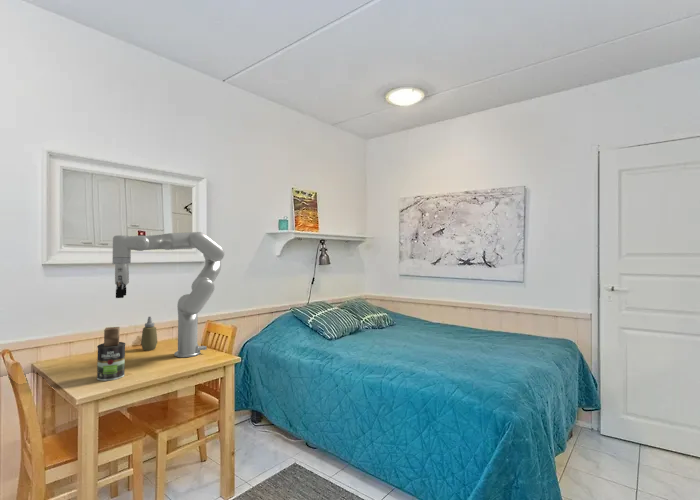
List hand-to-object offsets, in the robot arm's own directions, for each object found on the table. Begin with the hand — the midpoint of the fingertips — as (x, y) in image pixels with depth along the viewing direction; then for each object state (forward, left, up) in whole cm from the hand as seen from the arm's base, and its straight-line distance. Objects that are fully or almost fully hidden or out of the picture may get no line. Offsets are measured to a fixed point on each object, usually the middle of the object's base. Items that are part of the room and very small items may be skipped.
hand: (121, 296), depth 184 cm
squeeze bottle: (-11, -24, -32) cm, 42 cm away
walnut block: (+1, +20, -18) cm, 27 cm away
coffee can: (+1, +20, -33) cm, 38 cm away
